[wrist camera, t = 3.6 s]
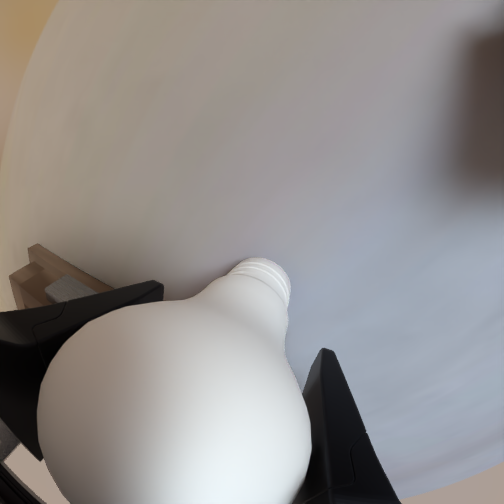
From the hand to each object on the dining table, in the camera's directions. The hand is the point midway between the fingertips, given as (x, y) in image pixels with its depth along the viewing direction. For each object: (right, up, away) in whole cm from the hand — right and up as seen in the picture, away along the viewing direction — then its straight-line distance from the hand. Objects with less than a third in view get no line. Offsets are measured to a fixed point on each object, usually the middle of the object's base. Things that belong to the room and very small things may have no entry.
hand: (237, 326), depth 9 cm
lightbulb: (+1, +1, +3) cm, 4 cm away
